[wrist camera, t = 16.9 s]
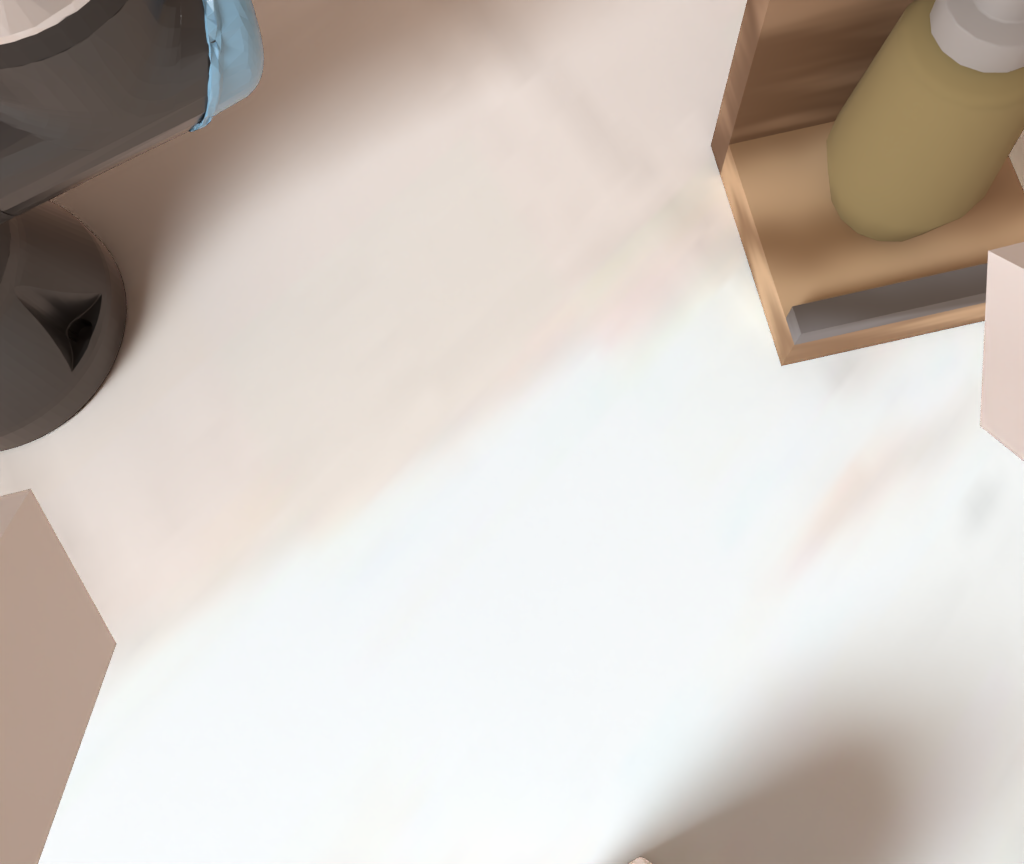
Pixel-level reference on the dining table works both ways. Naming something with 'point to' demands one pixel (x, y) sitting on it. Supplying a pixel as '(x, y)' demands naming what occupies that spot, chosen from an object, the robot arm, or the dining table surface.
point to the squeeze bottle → (930, 118)
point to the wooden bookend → (807, 199)
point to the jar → (640, 861)
